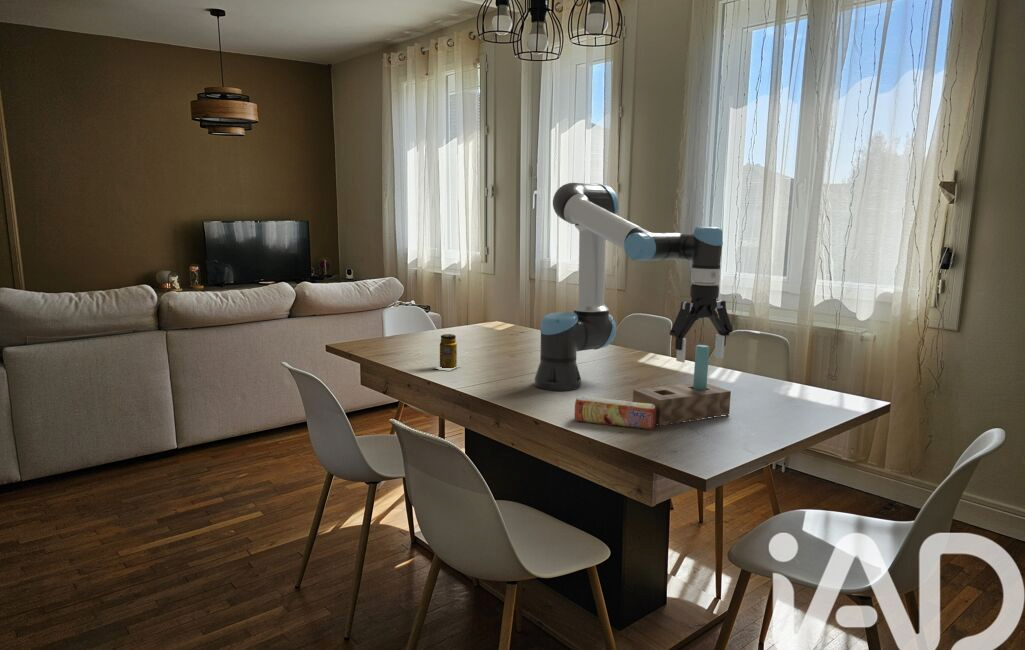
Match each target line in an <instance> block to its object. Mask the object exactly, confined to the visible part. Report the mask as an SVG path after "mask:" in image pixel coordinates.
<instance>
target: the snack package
mask: <svg viewBox="0 0 1025 650" xmlns="http://www.w3.org/2000/svg"><path fill="white" fill-rule="evenodd" d="M574 420H575V421H576V422H578V421H581V422H580V423H589V424H590V423H591V424H598V423H599V425H600V424H601V425H608V426H616V425H618V426H619V427H625V426H627V427H628V428H633V427H636V429H640V428H645V429H644V430H647V429H652V430H654V429H655V426H656V424H655V423H656V407H655V405H654V404H648V403H637V402H633V401H627V400H622V399H621V400H619V399H611V398H601V397H592V396H587V395H579V396H577V397H576V399H575V403H574ZM618 426H617V427H618Z"/></svg>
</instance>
